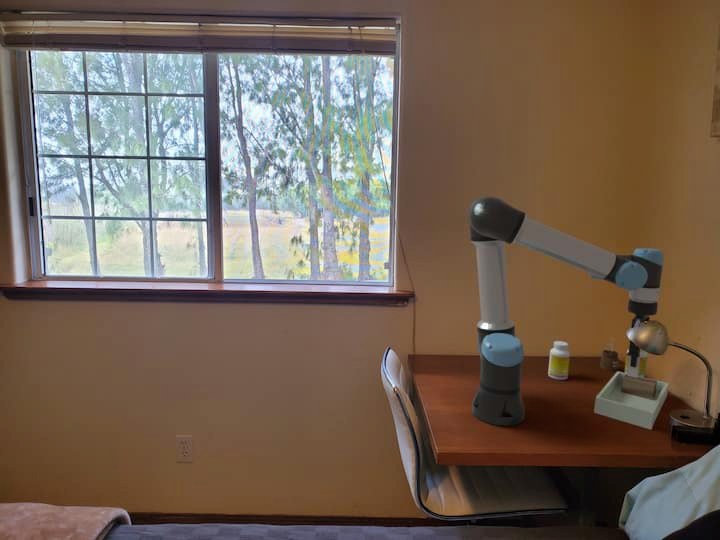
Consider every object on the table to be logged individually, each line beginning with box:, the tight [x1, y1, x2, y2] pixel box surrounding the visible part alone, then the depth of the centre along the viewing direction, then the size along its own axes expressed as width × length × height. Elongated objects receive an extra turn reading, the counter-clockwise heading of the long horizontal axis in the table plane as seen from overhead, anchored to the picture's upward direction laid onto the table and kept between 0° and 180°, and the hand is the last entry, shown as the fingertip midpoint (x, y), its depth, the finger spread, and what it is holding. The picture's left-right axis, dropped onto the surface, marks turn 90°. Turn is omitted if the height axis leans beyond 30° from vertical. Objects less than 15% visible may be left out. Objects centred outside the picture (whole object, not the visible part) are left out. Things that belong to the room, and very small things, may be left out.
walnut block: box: [621, 374, 658, 400], centre depth 152 cm, size 5×9×5 cm, turn 49°
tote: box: [593, 370, 669, 431], centre depth 145 cm, size 28×15×5 cm, turn 139°
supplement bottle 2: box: [624, 348, 648, 377], centre depth 141 cm, size 5×5×10 cm
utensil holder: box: [599, 337, 619, 372], centre depth 174 cm, size 6×6×12 cm
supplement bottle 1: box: [547, 340, 571, 381], centre depth 166 cm, size 7×7×13 cm
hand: (634, 373), depth 141 cm, fingers closed on supplement bottle 2, 5 cm apart
